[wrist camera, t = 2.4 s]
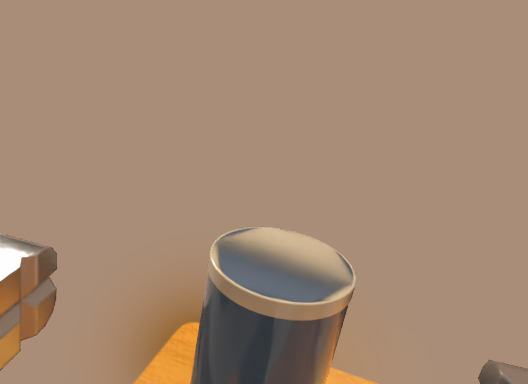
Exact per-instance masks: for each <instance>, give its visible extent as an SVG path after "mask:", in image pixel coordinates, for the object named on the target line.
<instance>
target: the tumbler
mask: <svg viewBox="0 0 528 384" xmlns="http://www.w3.org/2000/svg"><path fill="white" fill-rule="evenodd" d="M355 283H356V277H355V272H354V270H353V268H352V266H351V264H350V263H349V262H348V261H347V260H346V258H345V257H343V256H342V255H341V254H340V253H339V252H337V251H336V250H334V249H333V248H332V247H330V246H328V245H326V244H325V243H323V242H321V241H319V240H317V239H314V238H312V237H309V236H306V235H303V234H300V233H297V232H293V231H288V230H283V229H277V228H268V227H251V228H242V229H237V230H233V231H230V232H228V233H225V234H224V235H222V236H220V237H219V238H218V239H216V241H215V242H214V243H213V245H212V247H211V249H210V255H209V261H208V275H207V281H206V287H205V294H204V300H203V306H202V313H201V319H200V325H199V331H198V338H197V344H196V350H195V357H194V363H193V369H192V376H191V382H190V384H326V381H327V377H328V374H329V370H330V367H331V363H332V359H333V356H334V353H335V349H336V346H337V342H338V339H339V335H340V331H341V328H342V325H343V321H344V318H345V315H346V311H347V308H348V304H349V302H350V300H351V298H352V294H353V291H354V287H355Z"/></svg>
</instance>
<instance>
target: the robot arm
mask: <svg viewBox="0 0 528 384" xmlns="http://www.w3.org/2000/svg"><path fill="white" fill-rule="evenodd" d="M56 269H57V253H56V252H55V251H54V250H53V248H52V247H49V246H44V245H41V244H38V243H34V242H31V241H27V240H23V239H20V238H16V237H12V236H9V235H4V234H2V233H0V370H1V369H2V368H3V367H4V366H5V365H7V363H9V361H11V360H12V359H13V358H14V357H15V356H16V355H17V354H18V353H19V352H20V341H22V340H25V339H28V338H30V337H33V336H36V335H37V334H38V333H39V332H40V331H41V330H42V329H43V328H44V327H45V325H46V324H47V322H48V320H49V318H50V316H51V314H52V313H53V310H54V305H55V301H56V287H55V286H54V284H53V282H52V280H51V279H50V277H49V276H50V275H51V274H52V273H53V272H54V271H55V270H56ZM478 379H479V381H480V384H528V369H526V368H522V367H518V366H514V365H509V364H505V363H500V362H496V361H492V360H489V361H488V362H487V363H486V364H485V365H484V366H483V368H482V370H481V373H480V375H479V377H478Z"/></svg>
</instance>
